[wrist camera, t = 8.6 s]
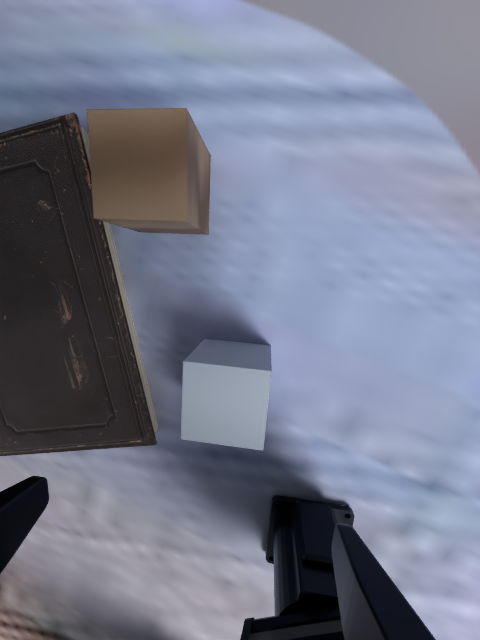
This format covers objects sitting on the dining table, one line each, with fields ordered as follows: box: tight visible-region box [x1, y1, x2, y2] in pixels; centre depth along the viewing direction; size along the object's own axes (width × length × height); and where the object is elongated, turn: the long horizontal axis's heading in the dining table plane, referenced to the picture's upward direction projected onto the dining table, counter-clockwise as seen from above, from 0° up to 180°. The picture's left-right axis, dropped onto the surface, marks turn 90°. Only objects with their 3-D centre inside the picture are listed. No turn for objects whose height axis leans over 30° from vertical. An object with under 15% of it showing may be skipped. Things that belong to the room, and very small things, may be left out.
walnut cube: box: [87, 108, 211, 235], centre depth 15 cm, size 5×5×5 cm
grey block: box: [181, 339, 272, 451], centre depth 17 cm, size 5×5×5 cm
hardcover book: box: [0, 113, 159, 456], centre depth 20 cm, size 16×23×2 cm
